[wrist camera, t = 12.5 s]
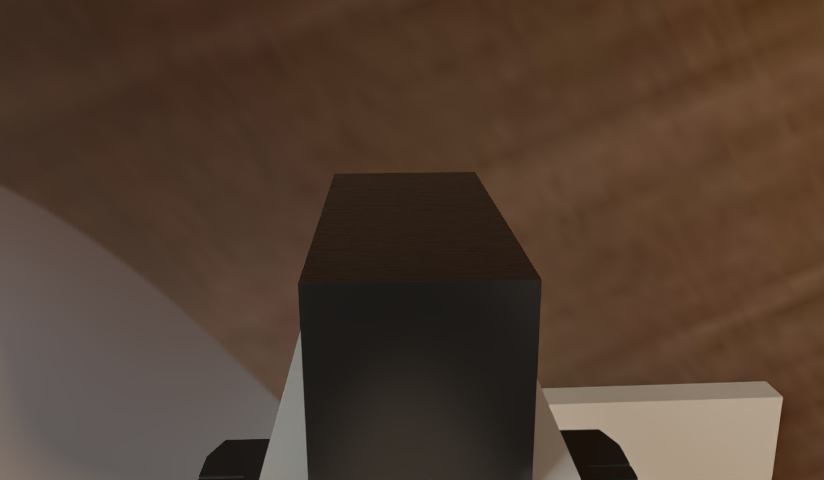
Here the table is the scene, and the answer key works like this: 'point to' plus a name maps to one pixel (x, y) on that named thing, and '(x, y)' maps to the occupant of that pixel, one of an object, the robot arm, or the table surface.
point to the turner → (418, 333)
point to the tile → (680, 426)
